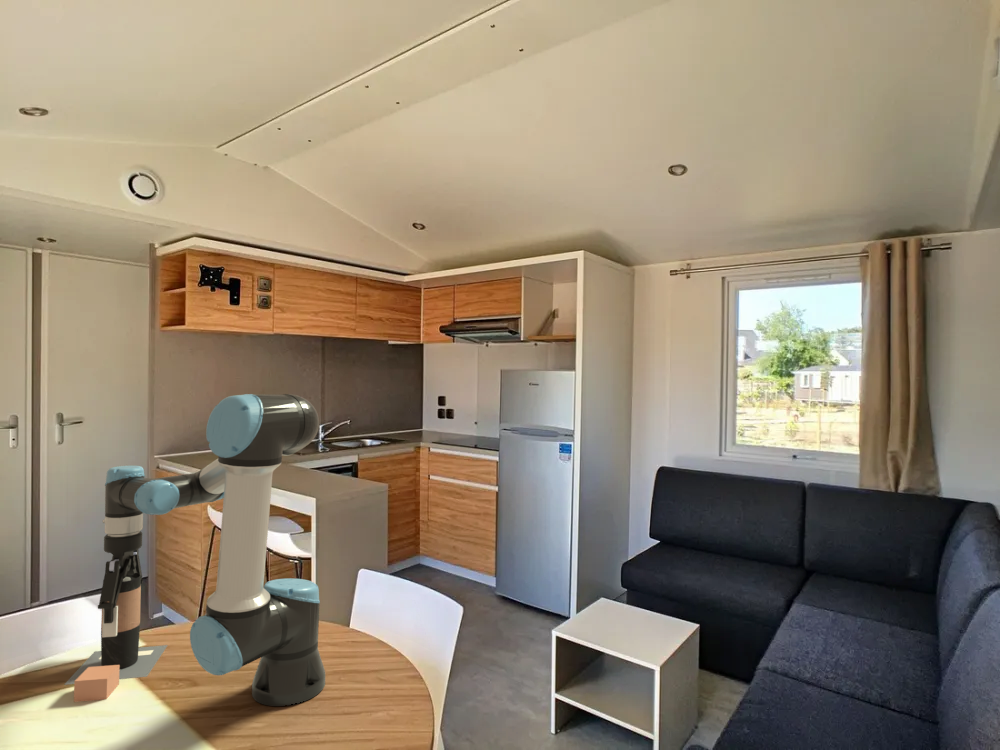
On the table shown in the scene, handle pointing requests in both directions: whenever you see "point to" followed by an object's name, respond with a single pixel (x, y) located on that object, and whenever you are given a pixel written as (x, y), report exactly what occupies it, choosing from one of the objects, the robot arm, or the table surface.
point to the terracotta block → (96, 683)
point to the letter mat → (139, 669)
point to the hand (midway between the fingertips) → (120, 624)
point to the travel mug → (124, 626)
